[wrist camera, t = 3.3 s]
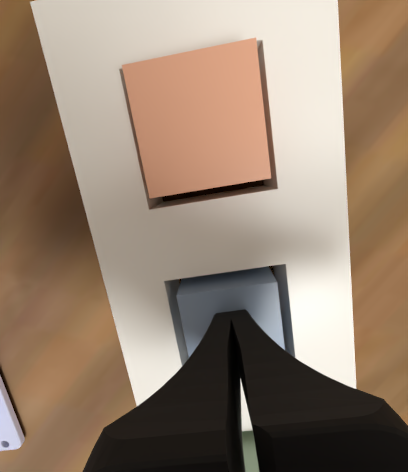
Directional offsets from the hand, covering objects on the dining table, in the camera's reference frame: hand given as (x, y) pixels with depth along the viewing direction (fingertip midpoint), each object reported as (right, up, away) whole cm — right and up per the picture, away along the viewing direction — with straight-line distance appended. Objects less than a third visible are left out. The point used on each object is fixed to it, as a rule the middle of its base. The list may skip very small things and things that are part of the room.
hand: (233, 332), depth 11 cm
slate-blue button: (0, +1, +3) cm, 3 cm away
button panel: (0, +1, +3) cm, 3 cm away
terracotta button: (-1, +8, 0) cm, 8 cm away
